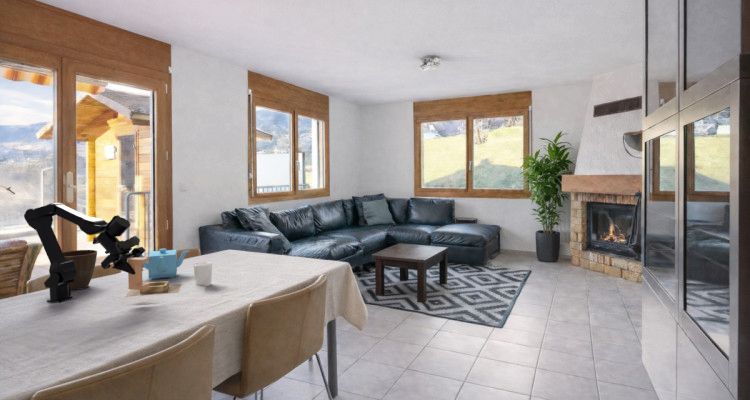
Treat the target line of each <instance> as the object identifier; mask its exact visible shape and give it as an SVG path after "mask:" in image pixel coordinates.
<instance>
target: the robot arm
mask: <svg viewBox="0 0 750 400" xmlns="http://www.w3.org/2000/svg"><path fill="white" fill-rule="evenodd" d="M54 216H57V217H59V218H62V219H64V220H65V221H68V222H70V223H72V224H74V225H76V226H77V227H78V228H79V229H80V231H82V232H83V233H84V234H86V235H87V236H94V237H93V240H92V245H98V244H100V246H102V247H103V249H104V250H105V251H104V253H105V254H106V255H107V256H106V257H105V258H104V259H103V260H102V261H101V262H100V266H101V268H102V269H103V270H107V269H110V268H112V269H114V270H118V271H122V272H125V273H127V274H128V273H130V274H133V275H134V274H135V273H136V272H135V271H134V269H133V268H132V267H131V266H130V264H129V263H128V259H131V258H134V257H140V256H141V255H143V254H144V253H145V252H146V249H145V248H144V247H143V246H139V245H140V242H141V239H140V238H139V237H137V235H134V236H132V237H130V238H128V239H125V240H123V239H122V240H119V238H118V237H122V235H123V234H124V233H125V232H126V231H127V230H128V229H129V228H130V227H131V222H130V221H129V220H128V219H125V218H123V217H121V216H120V215H118V214H117V215H113V216H112V219H111V220H110V221H109V222H107V221H106V220H104V219H102V218H98V217H94V216H89V215H88V216H87V215H85V214H83V213H82V212H79V211H77V210H75V209H73V208H71V207H69V206H66V205H65V204H64V203H62V202H51V203H48V204H45V205H43V206H39V207H35V208H28V209H26V211H25V212H24V215H23V217H24V220H25V222H26V223H27V225H28V226H29V227H30V228H31V229H33V230H34V231H36V233H37V235H38V237H39V239H40V242H41V244H42V247H43V248H44V249H43V250H44V251H45V254H46V256H47V258H48V260H49V263H50V265H49V270H48V272H49V273H48V274H49V277H47V279H46V280H44V283H43V284H44V287H45V289H47V288H49V299H46V302H50V303H62V302H65V301H68V300H72V299H74V297H75V296H73V295H72V292H71V291H72V290H71V287H70V283H73V282H74V279H75V277H76V274H77V271H76V270H77V268H76V267H75V264H74V262H73V261H68V260H66V259H65V257H64V255H63V252H64V251H63V250H62V248H61V246H60V244H59V241H58V239H57V237H56V234H55V231H54V229H53V227H52V226H53V221H54V219H53V218H54ZM95 235H97V236H95ZM136 246H138V247H136ZM111 264H113V266H112V267H111ZM143 271H144V269H143V268H142V272H143Z"/></svg>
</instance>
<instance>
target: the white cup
mask: <svg viewBox="0 0 750 400" xmlns="http://www.w3.org/2000/svg"><path fill="white" fill-rule="evenodd" d="M193 271H194V280H195V281H194V282H195V285H198V286H203V287H204V288H205V287H209V286H211V285H212V278H213V277H212V274H213V263H212V262H211V261H210V262H209V261H206V262H205V261H204V262H202V261H201V262H197V263H194V264H193Z"/></svg>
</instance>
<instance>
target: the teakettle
mask: <svg viewBox="0 0 750 400" xmlns="http://www.w3.org/2000/svg"><path fill="white" fill-rule="evenodd" d="M177 252H178V250H177V249H167V248H159V249H158V250H153V251H150V252H149V253H148V257H147V258H149V262H147V263H144V264H142V267H144V269H146V270H148V280H150V279H151V280H160V279H163V278H167V279H175V278H176V277H177V276H178V275H177V273H178V268H179V267H180V266H181V265H182V264H183V263H184V259H185V256H186V254H187V253H189V252H190V250H184V251H182V252H181V255H180V257H179V258H178V254H177ZM139 258H145V256H144V255H143V254H142V255H141V256H140V257H139Z"/></svg>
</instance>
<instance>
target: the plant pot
mask: <svg viewBox="0 0 750 400" xmlns="http://www.w3.org/2000/svg"><path fill="white" fill-rule="evenodd" d="M62 252H63V255H64V257H65V259H66V260H68V261H73V262H74V264H75V267H76V268H77V270H76V271H77V274H76V277H75V279H74V282H73V283H70V287H71V291H72V290H73V291H74V290H76V291H77V289H78V290H83V289H86V288H88V287H89V285H90V282H91V281H92V277H93V275H94V271H95V267H96V263H97V257H98V251H97V250H96V249H95V250H93V249H79V250H77V249H76V250H70V251H62Z"/></svg>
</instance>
